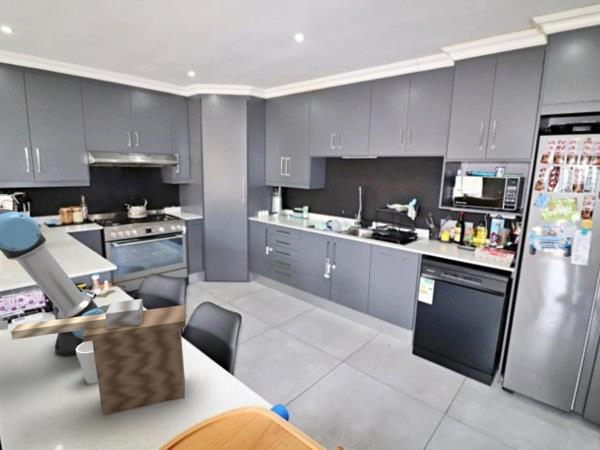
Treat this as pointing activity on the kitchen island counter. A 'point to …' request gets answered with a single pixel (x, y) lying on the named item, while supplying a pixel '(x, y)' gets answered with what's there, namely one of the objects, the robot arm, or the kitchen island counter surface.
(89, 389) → the kitchen island counter surface
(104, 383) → the walnut stand
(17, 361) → the kitchen island counter surface
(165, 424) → the kitchen island counter surface
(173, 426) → the kitchen island counter surface
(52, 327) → the mallet
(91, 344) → the foam cup
